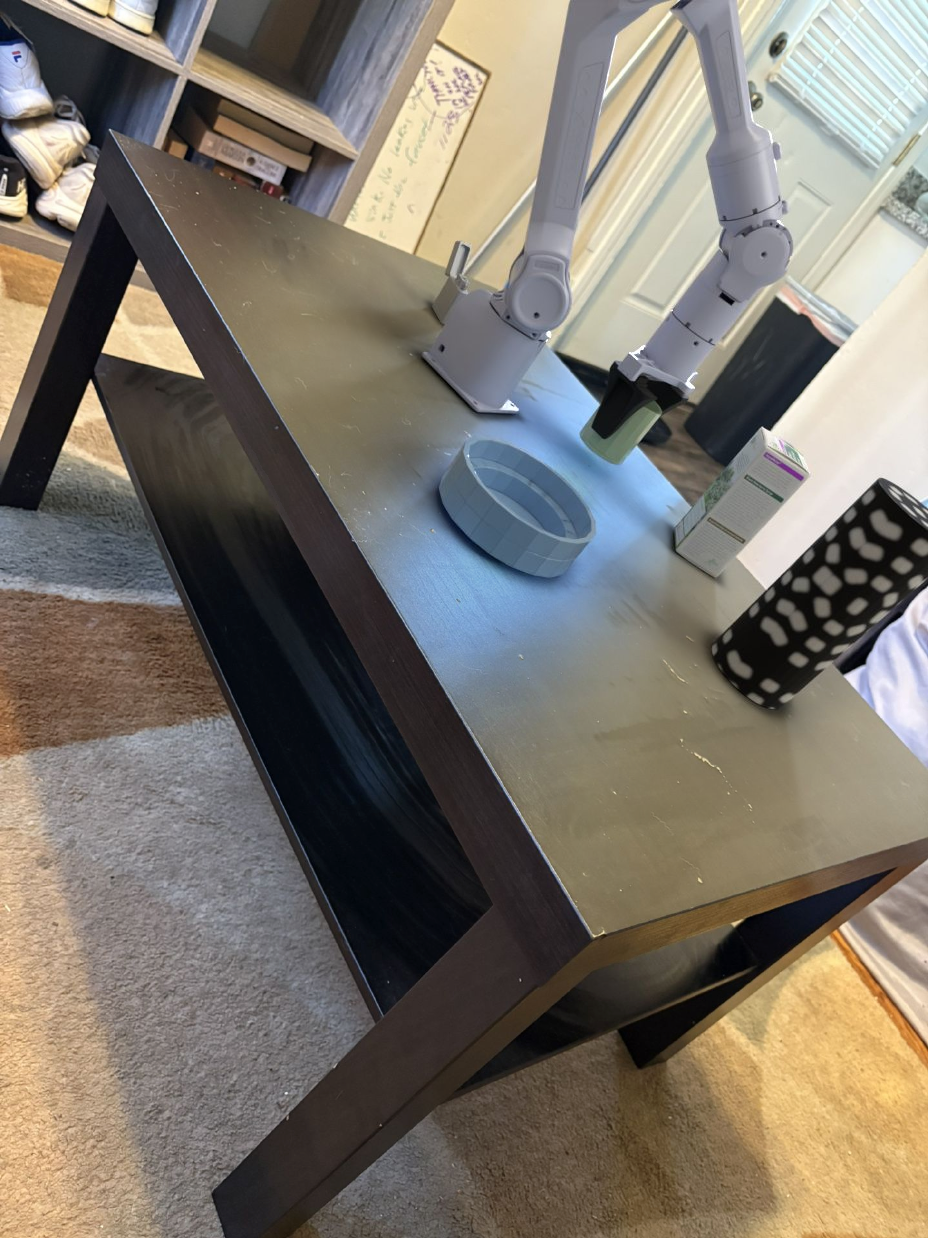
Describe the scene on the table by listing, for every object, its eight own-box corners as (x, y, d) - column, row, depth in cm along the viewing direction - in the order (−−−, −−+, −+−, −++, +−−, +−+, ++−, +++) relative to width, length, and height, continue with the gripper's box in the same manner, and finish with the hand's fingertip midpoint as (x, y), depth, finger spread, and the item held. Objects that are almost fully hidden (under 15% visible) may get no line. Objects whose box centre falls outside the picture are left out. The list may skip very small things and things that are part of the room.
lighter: (452, 327, 105) (488, 268, 101) (440, 322, 104) (476, 262, 100) (436, 299, 109) (469, 241, 105) (425, 294, 108) (458, 235, 104)
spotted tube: (790, 724, 77) (976, 564, 67) (715, 678, 76) (894, 506, 66) (776, 670, 84) (942, 517, 74) (707, 626, 83) (867, 464, 72)
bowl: (407, 479, 71) (434, 435, 69) (496, 474, 81) (522, 436, 79) (509, 592, 67) (542, 550, 65) (589, 572, 77) (620, 535, 75)
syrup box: (716, 580, 93) (816, 476, 85) (672, 550, 92) (768, 442, 84) (713, 555, 98) (806, 455, 90) (670, 527, 97) (761, 423, 89)
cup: (570, 430, 95) (609, 377, 91) (595, 430, 100) (633, 380, 96) (606, 465, 93) (647, 413, 90) (629, 464, 98) (670, 414, 94)
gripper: (694, 345, 81) (606, 458, 88) (745, 357, 93) (663, 456, 100) (642, 299, 84) (560, 413, 91) (699, 317, 95) (622, 416, 102)
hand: (611, 433), depth 95 cm, fingers closed on cup, 6 cm apart
